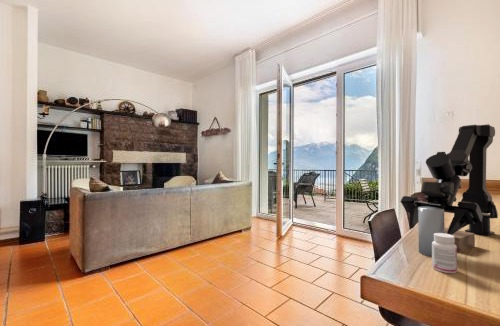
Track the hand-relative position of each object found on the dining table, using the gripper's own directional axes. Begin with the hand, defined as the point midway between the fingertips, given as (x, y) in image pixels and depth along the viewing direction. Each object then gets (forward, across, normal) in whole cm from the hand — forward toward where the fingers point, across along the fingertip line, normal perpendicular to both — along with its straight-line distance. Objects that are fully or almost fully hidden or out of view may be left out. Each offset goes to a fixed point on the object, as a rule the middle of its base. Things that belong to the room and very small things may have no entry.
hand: (428, 231), depth 69 cm
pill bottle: (+10, +6, -1) cm, 12 cm away
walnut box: (-6, -1, +15) cm, 16 cm away
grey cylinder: (+4, 0, +6) cm, 7 cm away
